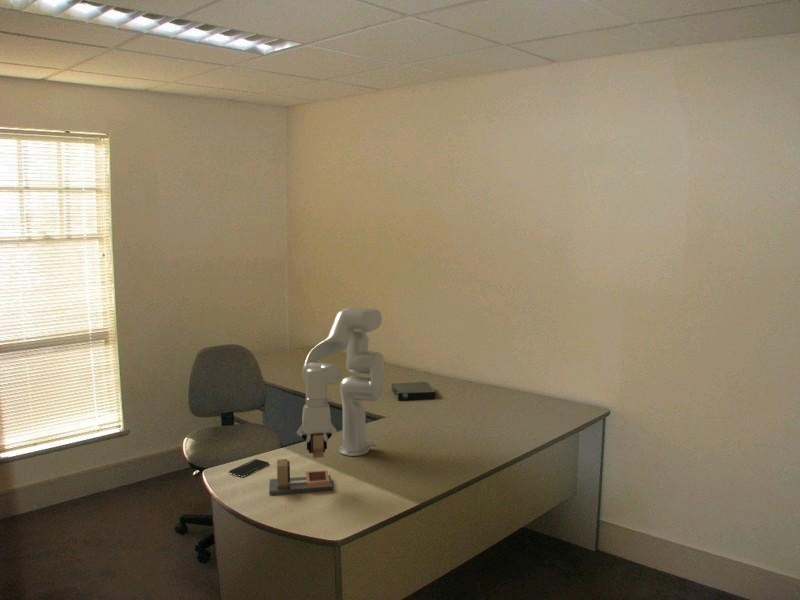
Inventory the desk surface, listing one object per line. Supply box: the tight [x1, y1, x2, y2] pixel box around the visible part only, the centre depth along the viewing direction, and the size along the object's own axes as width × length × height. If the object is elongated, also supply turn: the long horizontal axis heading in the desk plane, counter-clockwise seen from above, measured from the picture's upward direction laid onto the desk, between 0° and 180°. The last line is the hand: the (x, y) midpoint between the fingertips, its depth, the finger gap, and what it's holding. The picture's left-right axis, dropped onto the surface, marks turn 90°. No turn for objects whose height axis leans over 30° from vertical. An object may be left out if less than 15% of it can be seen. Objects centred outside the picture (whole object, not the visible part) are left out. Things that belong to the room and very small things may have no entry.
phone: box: [228, 458, 270, 476], centre depth 240 cm, size 8×1×15 cm
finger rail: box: [268, 458, 333, 496], centre depth 224 cm, size 22×10×10 cm, turn 101°
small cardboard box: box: [310, 434, 325, 459], centre depth 223 cm, size 6×4×8 cm
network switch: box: [391, 381, 437, 402], centre depth 344 cm, size 23×24×5 cm
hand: (316, 450), depth 223 cm, fingers closed on small cardboard box, 4 cm apart
